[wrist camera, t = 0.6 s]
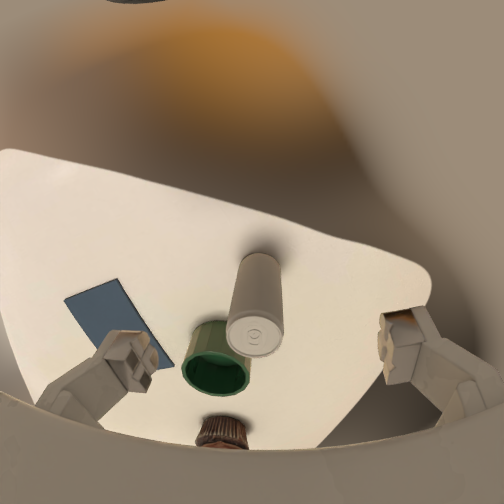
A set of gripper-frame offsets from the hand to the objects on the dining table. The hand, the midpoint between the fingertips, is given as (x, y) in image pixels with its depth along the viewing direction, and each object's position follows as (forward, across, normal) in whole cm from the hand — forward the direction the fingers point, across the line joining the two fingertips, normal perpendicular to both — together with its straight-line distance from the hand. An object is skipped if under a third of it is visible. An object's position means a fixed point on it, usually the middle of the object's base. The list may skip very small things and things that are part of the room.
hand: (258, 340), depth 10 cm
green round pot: (+21, +11, +21) cm, 32 cm away
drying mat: (+20, +27, +18) cm, 38 cm away
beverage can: (+22, +4, +10) cm, 25 cm away
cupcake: (+20, +16, +42) cm, 49 cm away
